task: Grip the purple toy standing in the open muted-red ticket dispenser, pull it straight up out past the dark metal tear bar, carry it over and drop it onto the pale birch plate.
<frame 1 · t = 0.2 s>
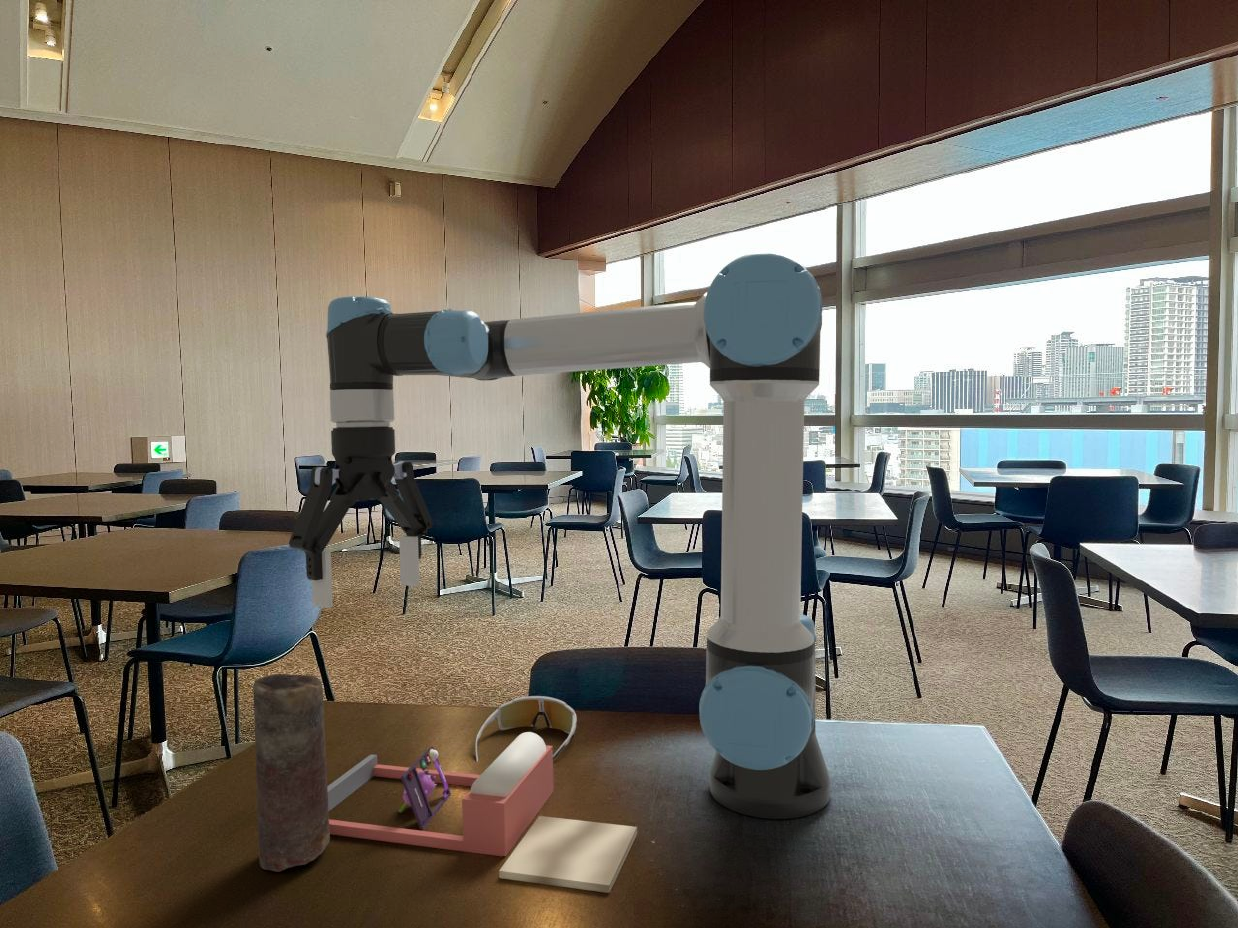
hand: (368, 595, 101), 26 cm above the table, fingers open, 13 cm apart
brown stone cylinder: (295, 857, 90), on the table
sunglasses: (527, 746, 121), on the table
dispenser: (418, 808, 101), on the table
plate: (571, 854, 89), on the table
purple toy: (419, 812, 100), on the table
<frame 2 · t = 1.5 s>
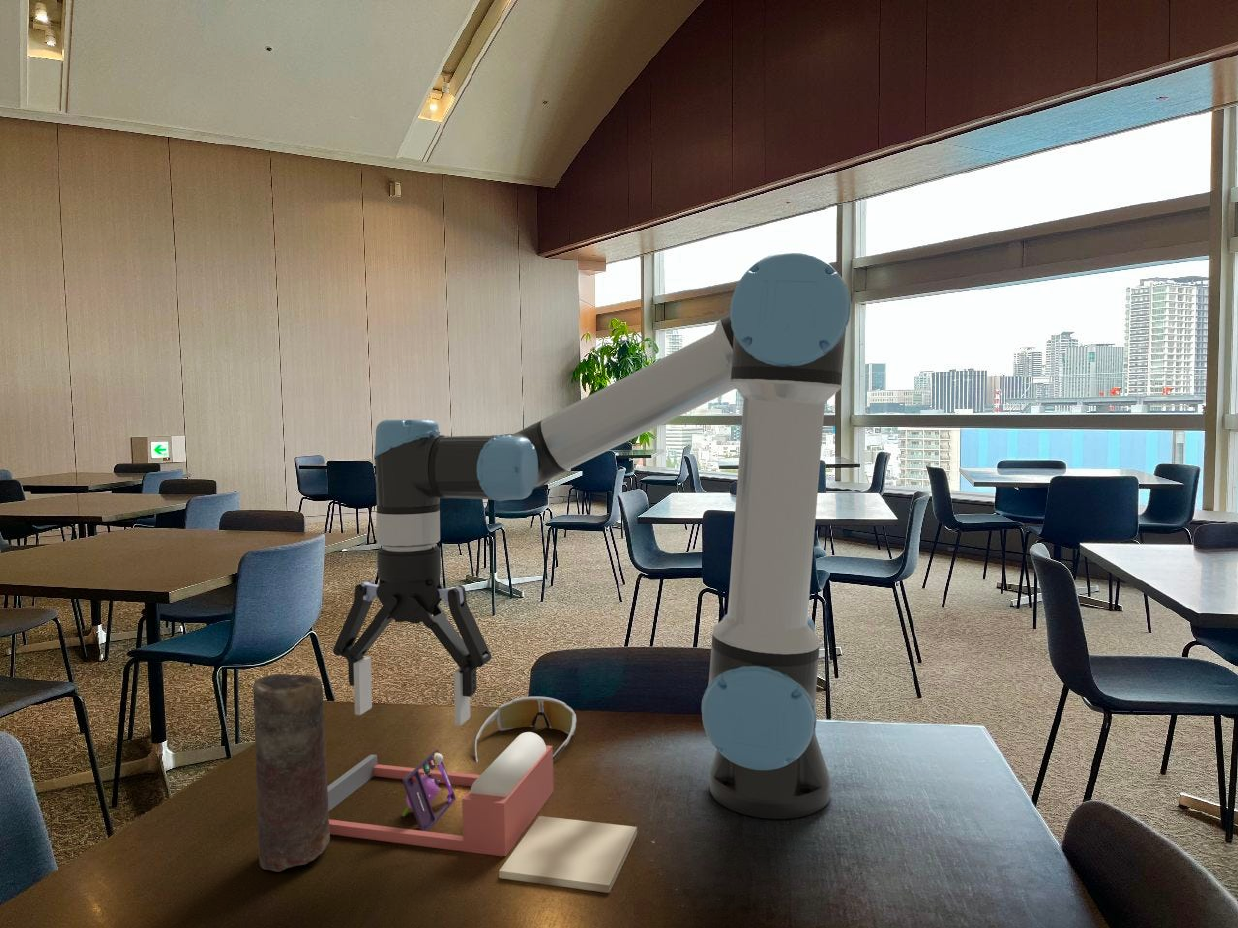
hand: (412, 716, 100), 12 cm above the table, fingers open, 13 cm apart
purple toy: (423, 816, 99), on the table
everything else where it was.
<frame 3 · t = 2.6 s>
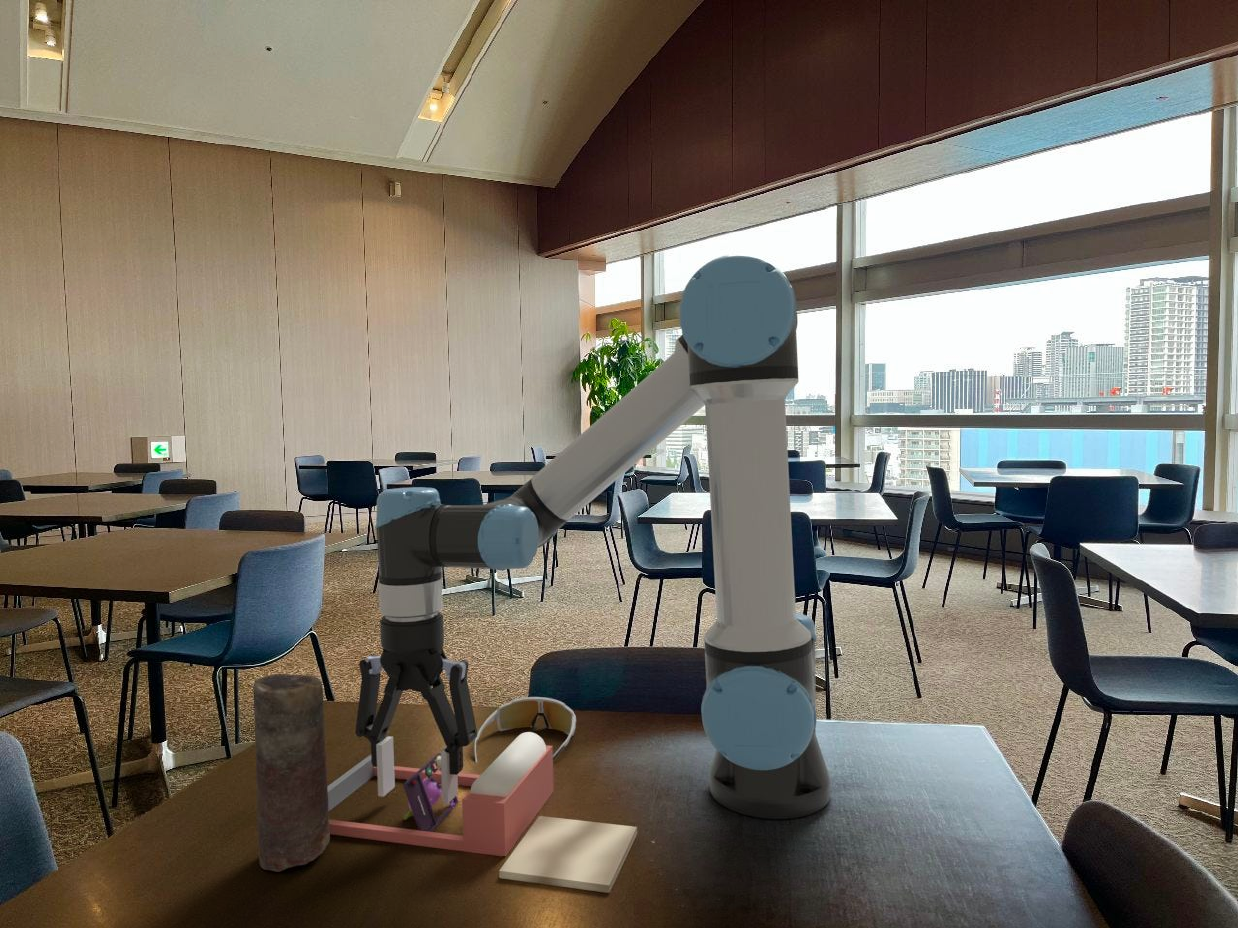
hand: (418, 794, 101), 2 cm above the table, fingers open, 8 cm apart
purple toy: (424, 820, 98), on the table, touching gripper
everything else where it was.
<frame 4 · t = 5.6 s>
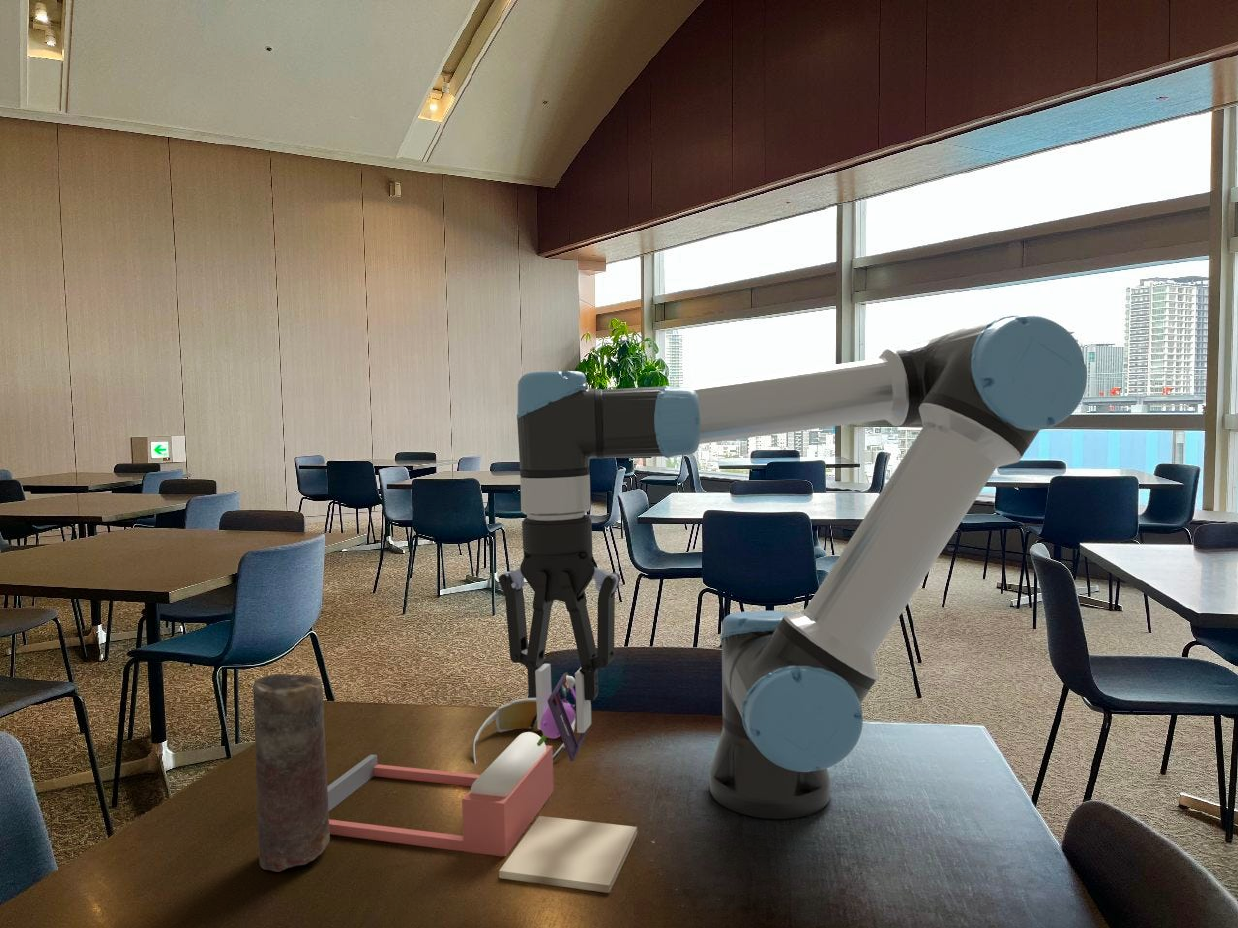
hand: (564, 726, 89), 14 cm above the table, fingers closed on purple toy, 4 cm apart
purple toy: (560, 745, 87), point 13 cm above the table, touching gripper
everything else where it was.
when the fingers open (3 cm above the table, at t = 8.2 s): purple toy stays where it is, resting on plate.
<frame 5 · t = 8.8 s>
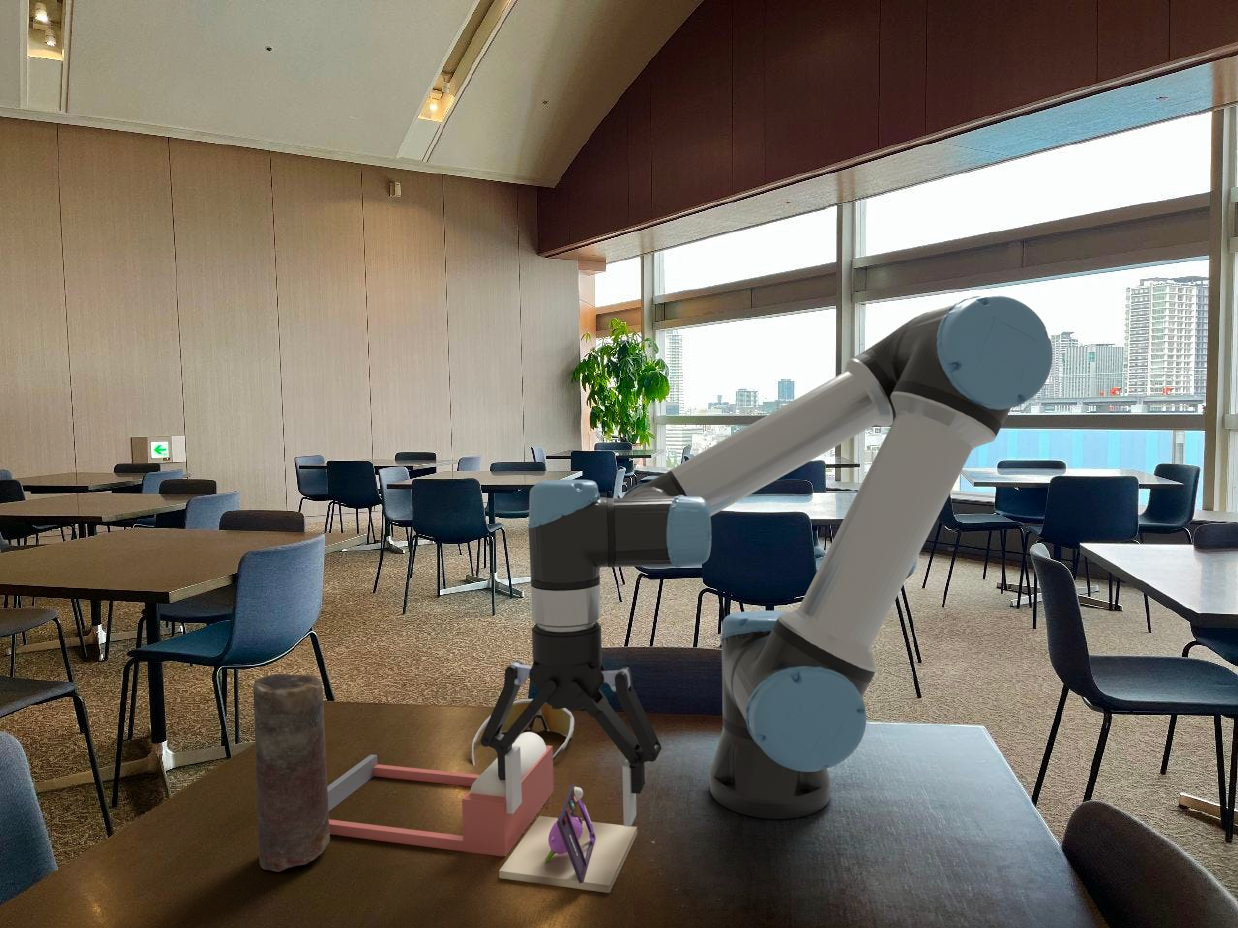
hand: (571, 814, 89), 5 cm above the table, fingers open, 13 cm apart
purple toy: (568, 861, 87), point 1 cm above the table, touching plate
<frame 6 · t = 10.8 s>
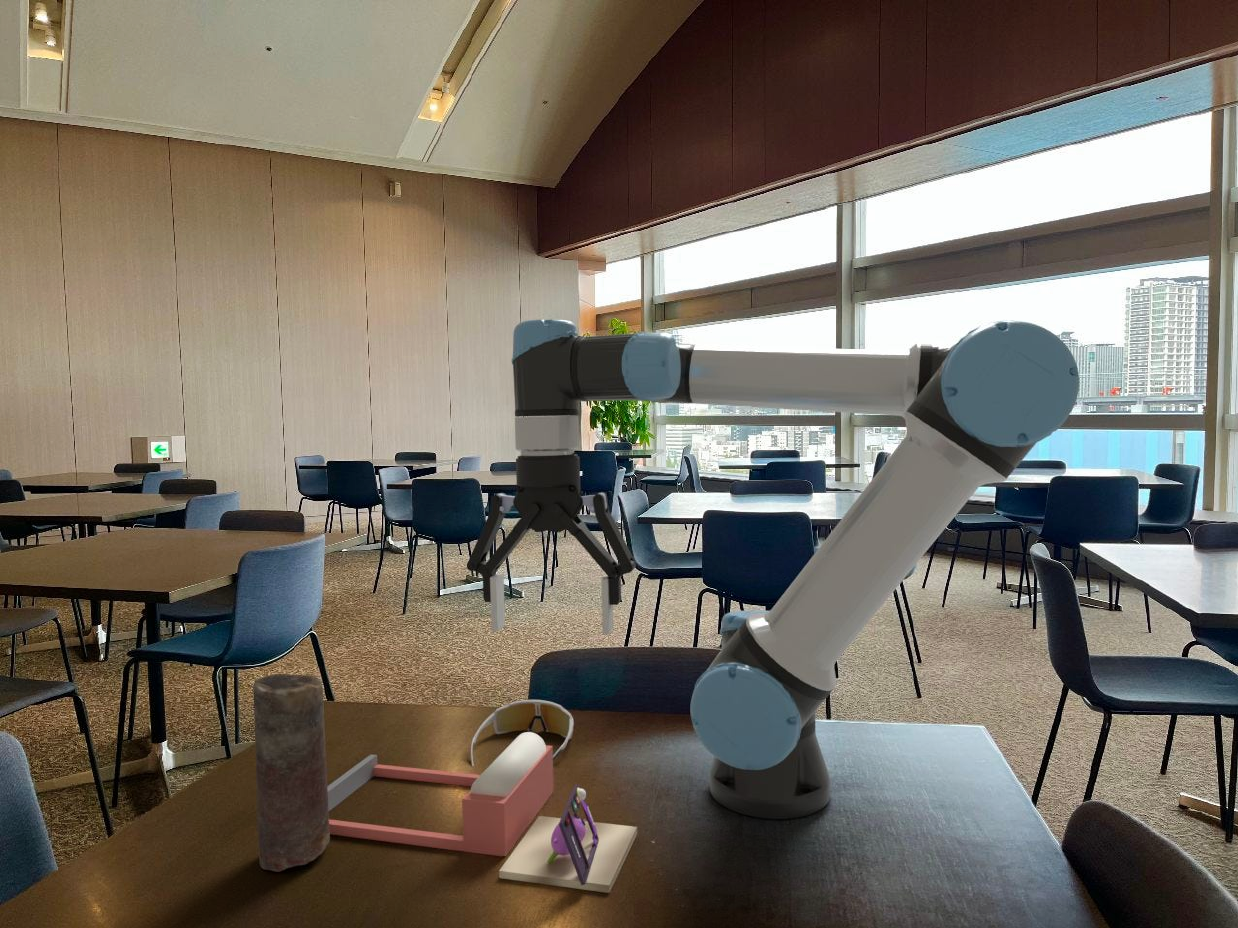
hand: (552, 630, 97), 23 cm above the table, fingers open, 13 cm apart
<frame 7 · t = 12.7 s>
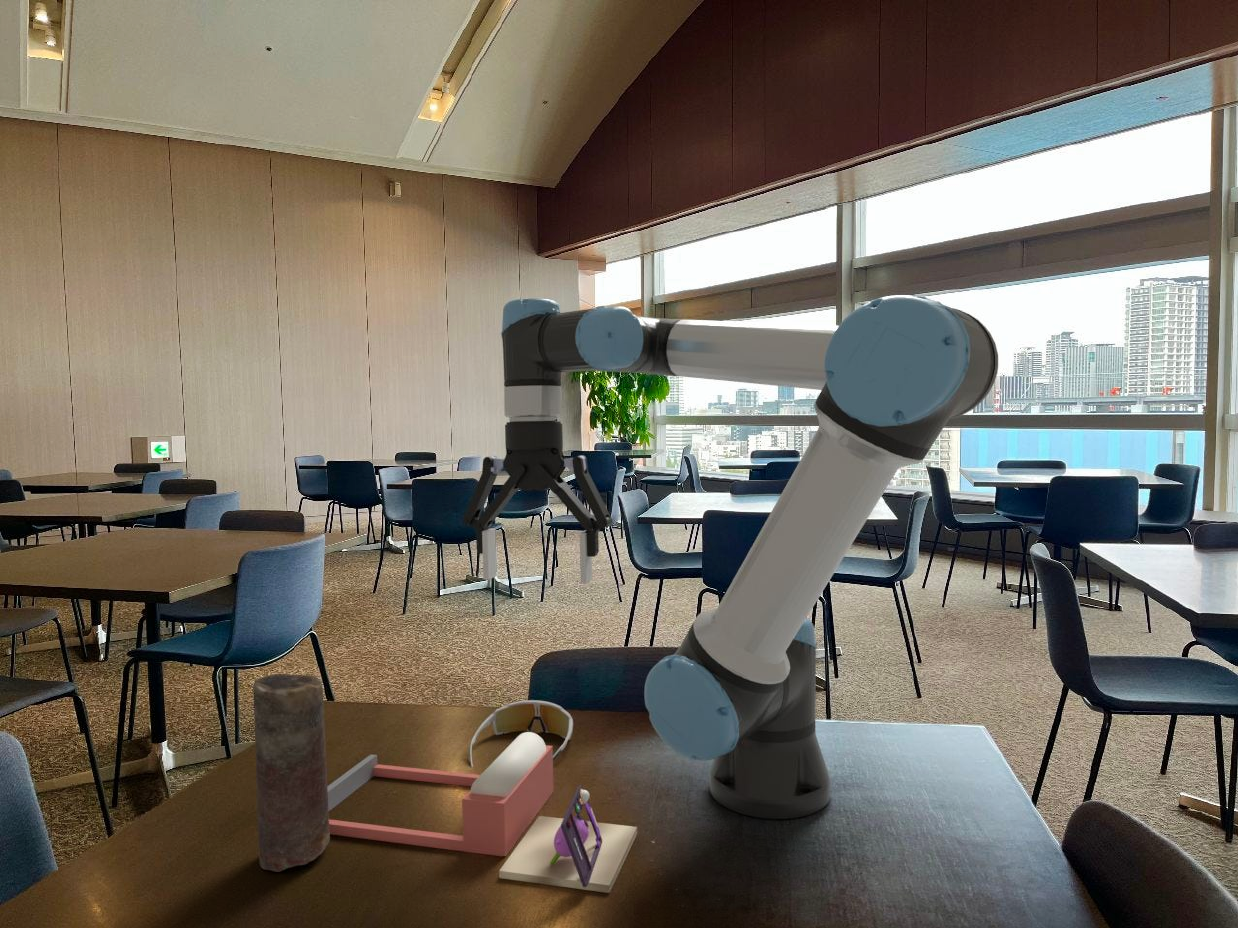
hand: (537, 579, 108), 27 cm above the table, fingers open, 13 cm apart
at the end: purple toy inside the target area on the plate (3.0 cm from its centre), point 0.6 cm above the plate's base; the gripper is holding nothing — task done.
